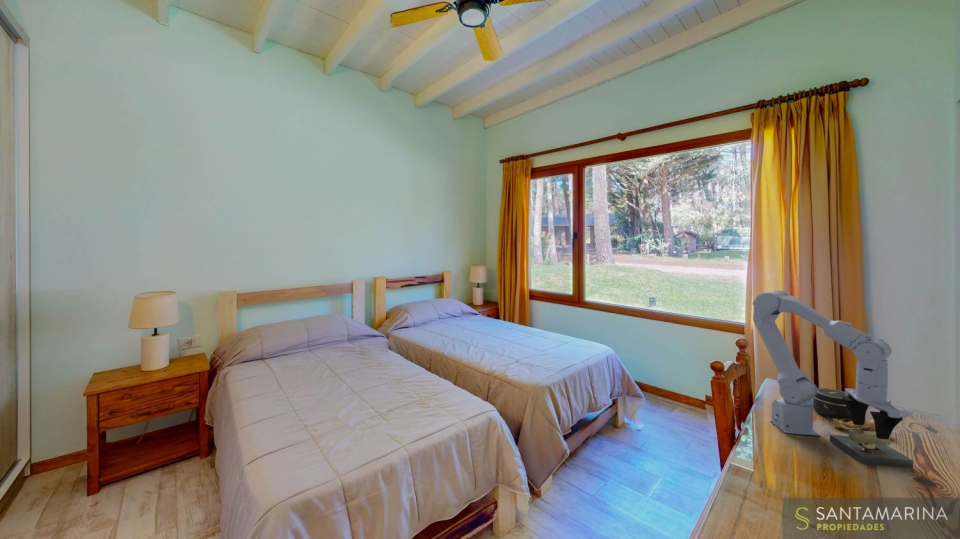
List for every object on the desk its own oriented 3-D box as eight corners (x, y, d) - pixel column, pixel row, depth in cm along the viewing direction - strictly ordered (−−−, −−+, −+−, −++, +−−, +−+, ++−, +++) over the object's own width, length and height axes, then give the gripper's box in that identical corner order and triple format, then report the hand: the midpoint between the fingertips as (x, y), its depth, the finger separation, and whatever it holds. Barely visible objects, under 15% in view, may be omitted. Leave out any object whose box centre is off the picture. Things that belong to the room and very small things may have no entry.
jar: (807, 412, 121) (807, 390, 120) (819, 405, 125) (819, 385, 125) (847, 424, 112) (848, 401, 112) (858, 417, 117) (859, 395, 116)
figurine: (896, 428, 102) (843, 412, 106) (891, 447, 102) (838, 431, 107) (877, 418, 109) (829, 404, 114) (872, 436, 110) (824, 421, 114)
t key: (854, 454, 96) (855, 433, 95) (847, 449, 98) (848, 429, 98) (890, 457, 94) (891, 436, 94) (882, 452, 96) (883, 431, 96)
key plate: (861, 463, 92) (861, 455, 92) (829, 441, 103) (829, 434, 102) (913, 468, 90) (913, 460, 89) (874, 444, 100) (875, 437, 100)
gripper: (916, 394, 87) (914, 447, 88) (865, 374, 101) (864, 419, 102) (882, 392, 89) (880, 444, 89) (837, 373, 103) (835, 418, 103)
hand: (869, 431), depth 96 cm, fingers open, 7 cm apart
